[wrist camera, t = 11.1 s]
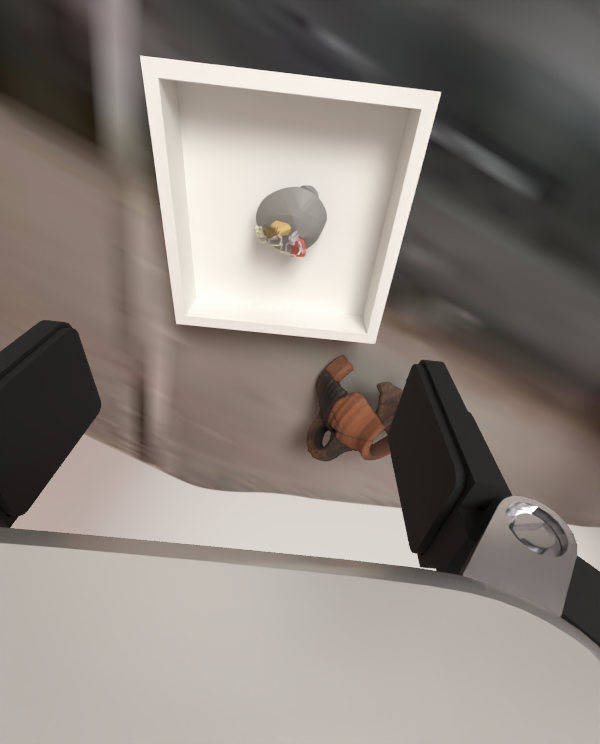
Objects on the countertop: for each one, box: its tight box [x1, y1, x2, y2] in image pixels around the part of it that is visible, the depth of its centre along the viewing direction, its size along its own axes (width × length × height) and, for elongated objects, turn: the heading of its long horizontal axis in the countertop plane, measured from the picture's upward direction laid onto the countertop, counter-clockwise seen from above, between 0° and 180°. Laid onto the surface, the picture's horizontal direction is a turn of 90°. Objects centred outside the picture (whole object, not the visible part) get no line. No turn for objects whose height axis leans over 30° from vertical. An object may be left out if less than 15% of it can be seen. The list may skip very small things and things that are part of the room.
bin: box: [140, 56, 441, 344], centre depth 24 cm, size 16×16×4 cm
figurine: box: [254, 185, 327, 259], centre depth 23 cm, size 5×4×6 cm
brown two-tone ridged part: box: [307, 355, 408, 461], centre depth 34 cm, size 12×10×8 cm
